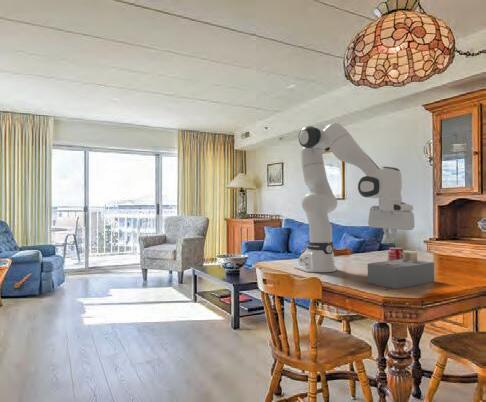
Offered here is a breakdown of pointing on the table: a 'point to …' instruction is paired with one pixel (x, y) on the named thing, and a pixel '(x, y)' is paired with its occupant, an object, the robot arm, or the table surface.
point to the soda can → (395, 253)
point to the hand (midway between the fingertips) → (389, 239)
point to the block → (400, 273)
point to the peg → (410, 257)
